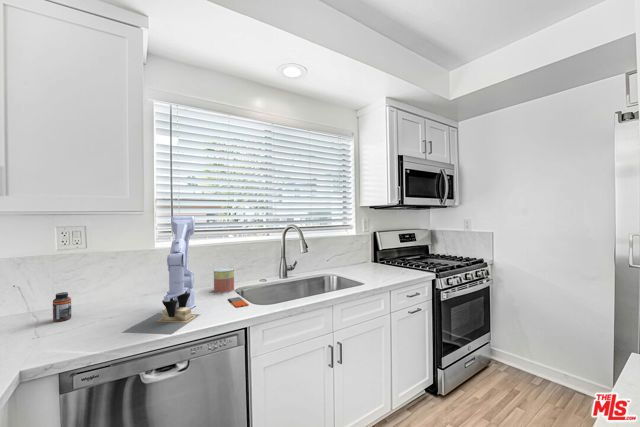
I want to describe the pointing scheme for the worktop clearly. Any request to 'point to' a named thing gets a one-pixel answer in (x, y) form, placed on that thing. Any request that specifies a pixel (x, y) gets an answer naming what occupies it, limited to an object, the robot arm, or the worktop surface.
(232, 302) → the phone
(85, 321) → the worktop surface
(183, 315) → the cream block
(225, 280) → the canned food
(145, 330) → the rubber mat
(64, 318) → the supplement bottle
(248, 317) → the worktop surface
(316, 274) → the worktop surface
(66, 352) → the worktop surface
